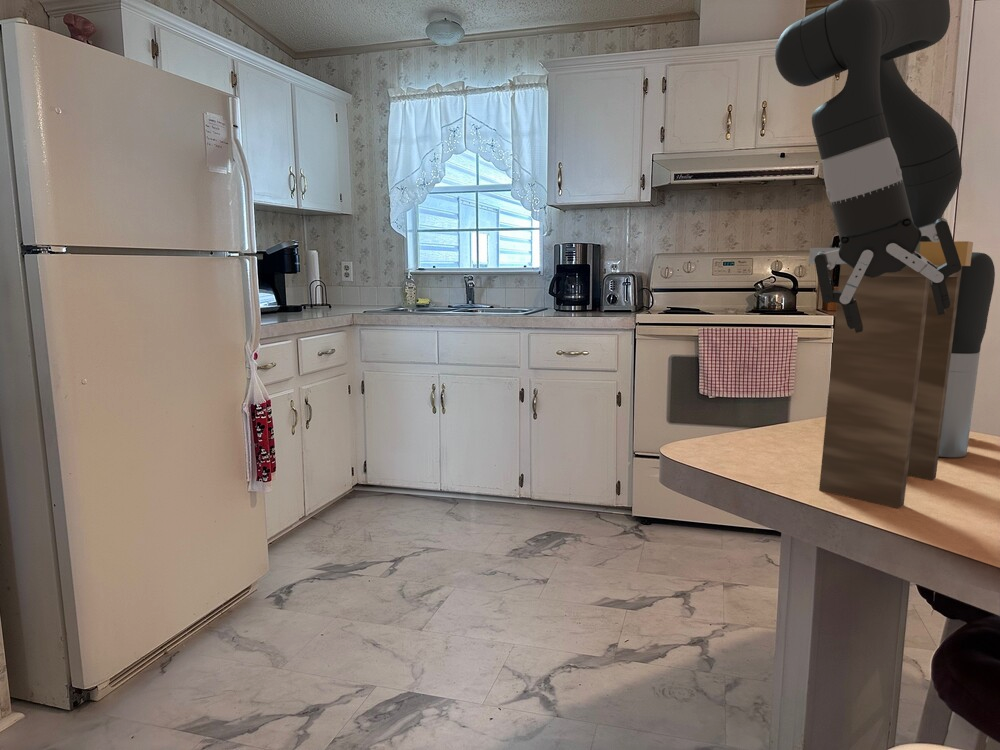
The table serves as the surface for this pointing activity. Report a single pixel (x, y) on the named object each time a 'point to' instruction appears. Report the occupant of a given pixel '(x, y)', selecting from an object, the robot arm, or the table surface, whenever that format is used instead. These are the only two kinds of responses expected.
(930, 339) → the shelf
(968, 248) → the two-tone rectangular bar
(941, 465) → the table surface
